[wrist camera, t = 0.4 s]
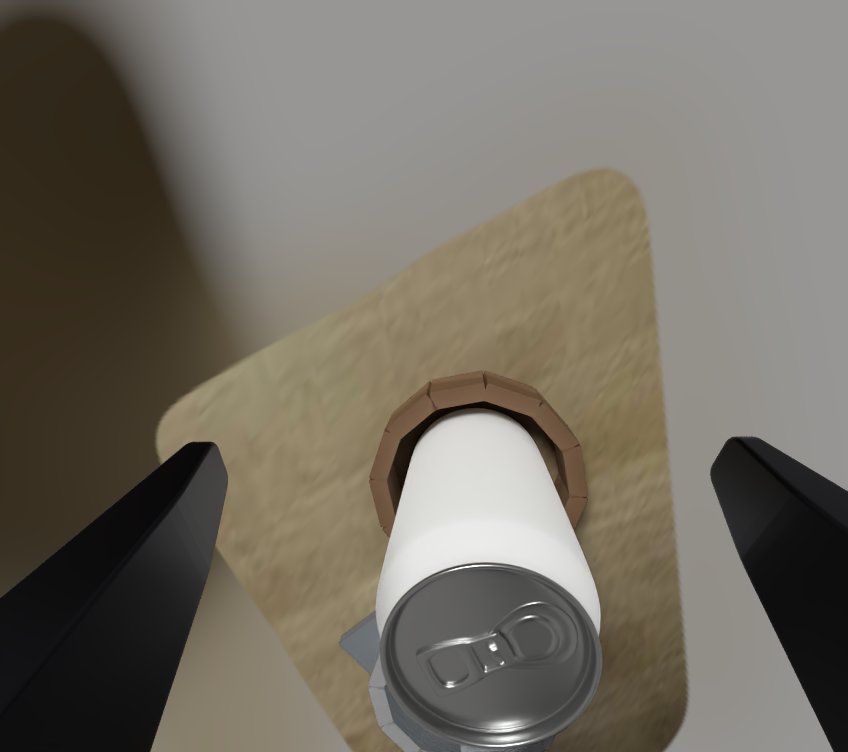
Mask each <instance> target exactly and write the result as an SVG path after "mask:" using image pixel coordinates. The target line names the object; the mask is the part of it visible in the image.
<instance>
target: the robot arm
mask: <svg viewBox="0 0 848 752" xmlns="http://www.w3.org/2000/svg"><path fill="white" fill-rule="evenodd" d="M710 476H711V481H712V484H713V487H714V489H715V492H716V494H717V497H718V500H719V503H720V505H721V508H722V511H723V514H724V517H725V519H726V522H727V525H728V527H729V530H730V533H731V536H732V538H733V541H734V544H735V547H736V549H737V551H738V554H739V557H740V559H741V561H742V563H743V565H744V568H745V570H746V572H747V574H748V576H749V578H750V580H751V583H752V585H753V587H754V589H755V591H756V593H757V595H758V597H759V599H760V601H761V603H762V605H763V607H764V609H765V611H766V613H767V615H768V617H769V620H770V622H771V623H772V626H773V628H774V630H775V632H776V634H777V636H778V638H779V640H780V642H781V644H782V646H783V648H784V650H785V652H786V655H787V656H788V659H789V661H790V663H791V665H792V667H793V669H794V671H795V673H796V675H797V677H798V679H799V681H800V683H801V685H802V687H803V689H804V691H805V694H806V696H807V698H808V700H809V702H810V704H811V706H812V708H813V710H814V712H815V714H816V716H817V718H818V720H819V722H820V725H821V726H822V729H823V730H824V733H825V735H826V737H827V739H828V741H829V743H830V745H831V747H832V749H833V751H834V752H848V491H846V490H845V489H843V488H841V487H840V486H838V485H836V484H835V483H833V482H831V481H830V480H828V479H826V478H825V477H823V476H821V475H820V474H818V473H816V472H815V471H813V470H811V469H809V468H808V467H806V466H805V465H803V464H801V463H800V462H798V461H796V460H795V459H793V458H791V457H790V456H788V455H786V454H785V453H783V452H781V451H780V450H778V449H776V448H774V447H773V446H771V445H770V444H768V443H766V442H765V441H763V440H761V439H759V438H756V437H731V438H730V439H728V440H727V442H726V443H725V444H724V446H723V448H722V450H721V451H720V453H719V455H718V456H717V458H716V460H715V461H714V463H713V465H712V467H711V472H710ZM227 486H228V475H227V471H226V468H225V465H224V463H223V460H222V457H221V454H220V452H219V449H218V447H217V445H216V444H215V443H214V442H190V443H188V444H186V445H185V446H183V447H182V448H181V449H180V450H179V451H177V452H176V453H175V454H174V455H173V456H171V457H170V458H169V459H168V460H167V461H165V462H164V463H163V464H162V465H160V466H159V467H158V468H157V469H156V470H154V471H153V472H152V473H151V474H150V475H148V476H147V477H146V478H145V479H144V480H142V481H141V482H140V483H139V484H138V485H137V486H135V487H134V488H133V489H131V490H130V491H129V492H128V493H127V494H125V495H124V496H123V497H122V498H121V499H119V500H118V501H117V502H116V503H115V504H113V505H112V506H111V507H110V508H109V509H107V510H106V511H105V512H104V513H102V514H101V515H100V516H99V517H98V518H96V519H95V520H94V521H93V522H92V523H90V524H89V525H88V526H87V527H86V528H84V529H83V530H82V531H81V532H80V533H78V534H77V535H76V536H75V537H73V538H72V539H71V540H70V541H69V542H67V543H66V544H65V545H64V546H63V547H61V548H60V549H59V550H58V551H57V552H55V553H54V554H53V555H52V556H51V557H49V558H48V559H47V560H46V561H45V562H43V563H42V564H41V565H40V566H39V567H37V568H36V569H35V570H34V571H32V572H31V573H30V574H29V575H27V576H26V577H25V578H24V579H23V580H21V581H20V582H19V583H18V584H17V585H16V586H14V587H13V588H12V589H11V590H9V591H8V592H7V593H6V594H5V595H3V596H2V597H1V598H0V752H150V751H151V748H152V745H153V742H154V739H155V736H156V732H157V729H158V726H159V723H160V720H161V717H162V714H163V711H164V708H165V705H166V702H167V699H168V696H169V693H170V690H171V687H172V684H173V681H174V678H175V675H176V672H177V669H178V666H179V662H180V659H181V657H182V653H183V650H184V647H185V644H186V641H187V638H188V635H189V632H190V629H191V626H192V623H193V620H194V617H195V614H196V611H197V608H198V605H199V602H200V599H201V596H202V593H203V590H204V586H205V584H206V580H207V577H208V574H209V570H210V566H211V562H212V557H213V553H214V548H215V544H216V539H217V534H218V529H219V524H220V520H221V515H222V510H223V505H224V500H225V496H226V491H227Z"/></svg>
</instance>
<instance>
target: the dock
mask: <svg viewBox="0 0 848 752" xmlns="http://www.w3.org/2000/svg"><path fill="white" fill-rule="evenodd" d="M380 643H381V638H380V635H379V631H378V626H377V620H376V611H374V612H373V613H372V614H370V615H369V616H368V617H366V618H365V619H364V620H362V621H361V622H360V623H358V624H357V625H356V626H354V627H353V628H351V629H350V630H349V631H347V632H346V633H345V634H343V635H342V636H341V639H340V642H339V645H340V646H341V647H342V648H343V649H344V650H345V651H346V652H347V653H348V654H349V655H350V656H351V657H352V658H353V659H355V660H356V661H357V662H358V663H359V664H360V665H361V666H362V667H363V668H364V669H365V670H366V671H367V672H368V673H369V674H370V679H369V683H368V685H369V686H368V689H369V693H370V696H371V700H372V703H373V707H374V710H375V714H376V718H377V721H378V725H379V726H381V728H380V729H381V730H383V731H384V732H385V733H386V734H387V735H388V736H389V737H390V738H391V739H392V740H393V741H394V742H395V743H396V744H397V745H398V746H399V747H400V748H401V749H402V750H403V751H404V752H543V751H545V750H546V749H548V746H550V745H551V743H552V741H553V740H554V738H555V736H556V735H554V736H552V737H550V738H548V739H546V740H544V741H541V742H538V743H535V744H532V745H528V746H524V747H519V748H513V749H499V750H492V749H480V748H473V747H468V746H464V745H460V744H456V743H453V742H451V741H448V740H445V739H443V738H441V737H439V736H437V735H435V734H433V733H431V732H429V731H428V730H426V729H425V728H423V727H422V726H420V725H419V724H418V723H416V722H415V721H414V720H413V719H412V718H411V717H410V716H409V715H407V714H406V712H405V711H404V710H403V709H402V708H401V707H400V706H399V704H398V703H397V702H396V700H395V699H394V697H393V696H392V694H391V692H390V690H389V688H388V686H387V684H386V681H385V679H384V675H383V672H382V667H381V661H380Z"/></svg>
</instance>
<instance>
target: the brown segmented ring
mask: <svg viewBox="0 0 848 752" xmlns="http://www.w3.org/2000/svg"><path fill="white" fill-rule="evenodd" d="M481 401H486V402H489V403H492V404H495V405H498V406H501V407H504V408H507V409H510V410H513V411H516V412H519V413H522V414H525V415H528V416H531V417H532V418H533V419H534V420H535V421H536V422H537V424H538V425H539V426H540V427H541V428H542V429H543V430H544V431H545V433H546V434H547V435H548V436H549V437H550V438H551V439H552V441H553V442H554V446H555V453H556V459H557V465H558V471H559V474H558V476H557V479H556V481H555V483H554V486H555V488H556V491H557V493H558V495H559V498H560V500H561V502H562V505H563V507H564V509H565V512H566V514H567V516H568V519H569V521H570V524H571V526H572V528H573V531H574V529H575V526H576V524H577V522H578V520H579V518H580V516H581V513H582V511H583V509H584V507H585V505H586V503H587V500H588V499H587V496H588V491H587V484H586V477H585V471H584V464H583V457H582V450H581V446H580V444H579V442H578V440H577V439H576V437H575V436H574V434H573V433H572V431H571V430H570V428H569V427H568V425H567V424H566V423H565V422H564V421H563V420H562V418H561V417H560V416H559V415H558V414H557V413H556V412H555V410H554V409H553V408H552V407H551V406H550V405H549V404H548V402H547V401H546V400H545V399H544V398H543V397H542V396H541V394H540V393H539V392H538V391H537V390H536V389H535V390H534V388H533V387H532V386H529V385H526V384H523V383H520V382H517V381H514V380H511V379H508V378H505V377H502V376H499V375H496V374H493V373H490V372H487V371H485V373H484V376H483V374H482V371H477V372H472V373H467V374H461V375H456V376H451V377H445V378H440V379H435V380H433V381H432V383H431V382H428V383H427V384H426V385H425V386H424V387H423V388H421V389H420V390H419V391H418V392H417V393H415V394H414V395H413V396H412V397H411V398H410V399H408V400H407V401H406V402H405V403H404V404H403V405H401V406H400V407H399V408H398V409H397V410H396V411H394V413H393V415H392V416H391V418H390V420H389V422H388V424H387V426H386V428H385V430H384V433H383V436H382V439H381V443H380V446H379V449H378V452H377V455H376V458H375V461H374V464H373V467H372V470H371V474H370V477H369V478H370V480H369V483H370V487H371V491H372V495H373V498H374V502H375V506H376V510H377V514H378V518H379V522H380V526H381V527H383V531H384V532H385V533H386V534H387V535H388V536H389V537H390V536H391V532H392V529H393V525H394V521H395V517H396V513H397V510H398V506H399V502H400V498H401V495H402V492H401V488H400V483H399V479H398V475H397V471H396V467H395V462H394V458H395V455H396V452H397V449H398V446H399V443H400V440H401V438H403V437H404V436H405V435H406V434H407V433H409V432H410V431H411V430H412V429H413V428H415V427H416V426H417V425H418V424H419V423H421V422H422V421H423V420H424V419H425V418H427V417H428V416H429V415H430V414H431V413H433V412H434V411H435V410H436V409H442V408H447V407H453V406H459V405H464V404H470V403H475V402H481Z"/></svg>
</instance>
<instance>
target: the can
mask: <svg viewBox="0 0 848 752" xmlns="http://www.w3.org/2000/svg"><path fill="white" fill-rule="evenodd" d="M600 619H601V613H600V603H599V598H598V594H597V590H596V587H595V583H594V581H593V578H592V575H591V572H590V570H589V567H588V565H587V562H586V560H585V557H584V555H583V552H582V550H581V547H580V545H579V543H578V540H577V538H576V535H575V533H574V531H573V528H572V526H571V524H570V521H569V519H568V516H567V514H566V512H565V509H564V507H563V505H562V502H561V500H560V498H559V495H558V493H557V491H556V488H555V486H554V484H553V481H552V479H551V477H550V474H549V472H548V470H547V467H546V465H545V463H544V460H543V458H542V456H541V454H540V452H539V450H538V448H537V446H536V444H535V442H534V440H533V439H532V438H531V436H530V435H529V433H528V432H527V431H526V430H525V429H524V428H523V427H522V426H521V425H520V424H519V423H518V422H517V421H515V420H514V419H512V418H511V417H509V416H507V415H505V414H503V413H500V412H498V411H494V410H490V409H484V408H467V409H461V410H457V411H454V412H451V413H449V414H446V415H444V416H443V417H441V418H439V419H438V420H436V421H435V422H434V423H432V424H431V425H430V426H429V427H428V428H427V429H426V430H425V431H424V433H423V434H422V435H421V437H420V439H419V440H418V442H417V444H416V446H415V449H414V452H413V455H412V458H411V461H410V465H409V469H408V472H407V476H406V480H405V483H404V487H403V491H402V495H401V498H400V502H399V506H398V510H397V513H396V517H395V521H394V525H393V529H392V532H391V536H390V540H389V544H388V548H387V552H386V556H385V560H384V564H383V568H382V572H381V576H380V581H379V585H378V591H377V599H376V620H377V626H378V631H379V635H380V638H381V643H380V661H381V667H382V672H383V675H384V679H385V681H386V684H387V686H388V688H389V690H390V692H391V694H392V696H393V697H394V699H395V700H396V702H397V703H398V704H399V706H400V707H401V708H402V709H403V710H404V711H405V712H406V714H407V715H409V716H410V717H411V718H412V719H413V720H414V721H415V722H416V723H418V724H419V725H420V726H422V727H423V728H425V729H426V730H428V731H429V732H431V733H433V734H435V735H437V736H439V737H441V738H443V739H445V740H448V741H451V742H453V743H456V744H460V745H464V746H468V747H473V748H480V749H492V750H499V749H513V748H519V747H524V746H528V745H532V744H535V743H538V742H541V741H544V740H546V739H548V738H550V737H552V736H554V735H556V734H558V733H559V732H561V731H563V730H564V729H565V728H567V727H568V726H569V725H571V724H572V723H573V722H574V721H575V720H576V719H577V718H578V717H579V716H580V715H581V714H582V713H583V712H584V711H585V709H586V708H587V707H588V705H589V704H590V702H591V700H592V699H593V697H594V695H595V693H596V690H597V688H598V685H599V681H600V677H601V672H602V649H601V644H600V640H599V632H600Z"/></svg>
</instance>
